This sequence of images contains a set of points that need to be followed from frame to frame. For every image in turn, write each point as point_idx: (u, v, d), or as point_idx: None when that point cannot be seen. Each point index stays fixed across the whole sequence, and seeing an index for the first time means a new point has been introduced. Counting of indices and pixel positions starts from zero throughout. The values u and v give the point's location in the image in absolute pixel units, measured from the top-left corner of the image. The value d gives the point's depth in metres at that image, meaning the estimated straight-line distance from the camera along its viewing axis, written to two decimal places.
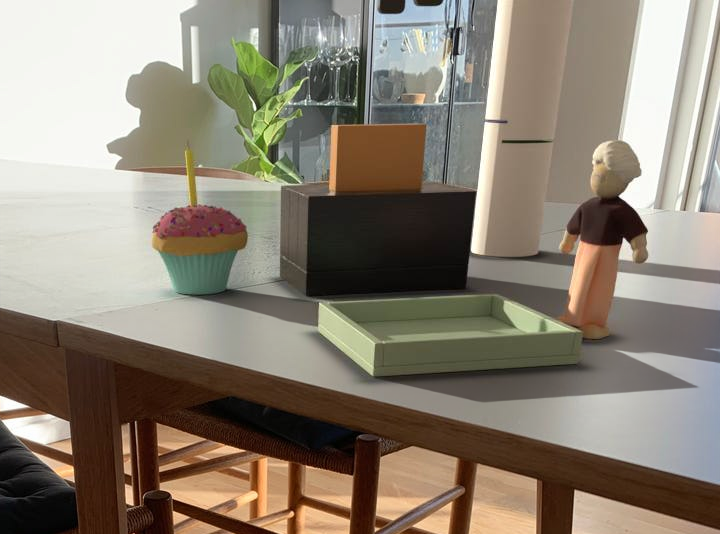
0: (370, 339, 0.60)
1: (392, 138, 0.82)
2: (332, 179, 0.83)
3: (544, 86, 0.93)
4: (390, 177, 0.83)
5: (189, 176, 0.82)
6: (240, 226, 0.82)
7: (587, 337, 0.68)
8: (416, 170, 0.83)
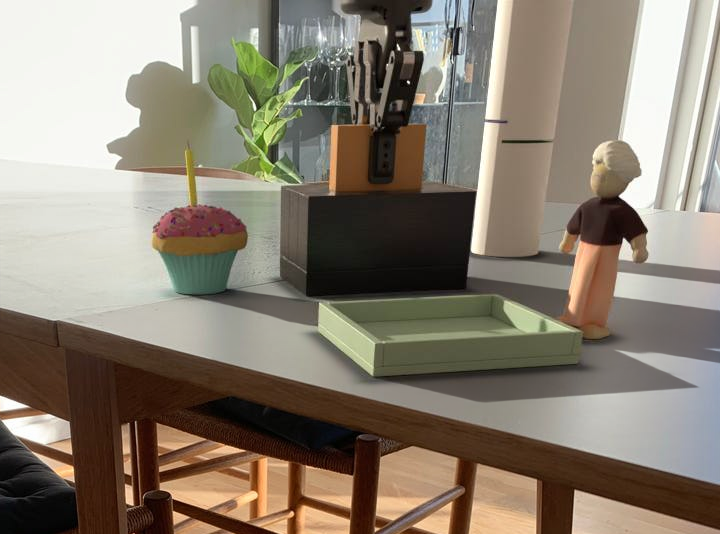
0: (370, 339, 0.60)
1: None
2: (333, 179, 0.83)
3: (544, 86, 0.93)
4: None
5: (189, 176, 0.82)
6: (240, 226, 0.82)
7: (587, 337, 0.68)
8: (416, 170, 0.83)
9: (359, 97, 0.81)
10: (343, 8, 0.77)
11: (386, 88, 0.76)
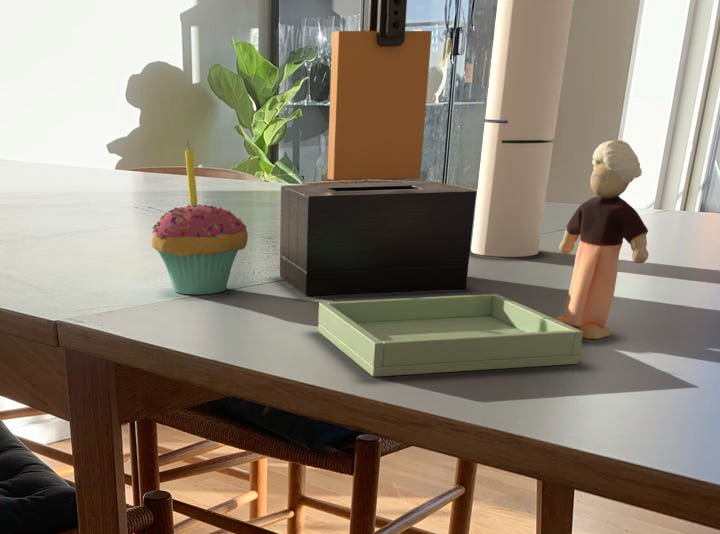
0: (370, 339, 0.60)
1: None
2: (333, 89, 0.80)
3: (544, 86, 0.93)
4: (393, 88, 0.80)
5: (189, 176, 0.82)
6: (240, 226, 0.82)
7: (587, 337, 0.68)
8: (420, 81, 0.80)
9: None
10: None
11: None
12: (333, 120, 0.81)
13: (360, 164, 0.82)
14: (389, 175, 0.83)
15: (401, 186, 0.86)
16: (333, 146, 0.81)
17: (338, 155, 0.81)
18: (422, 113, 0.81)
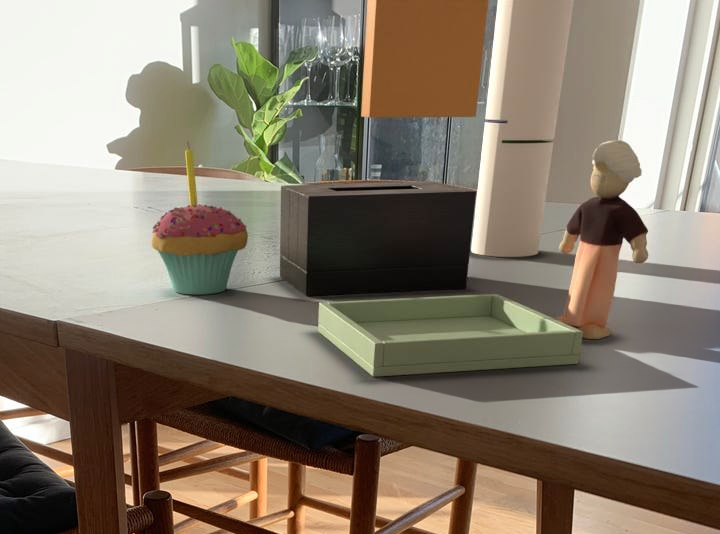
0: (370, 339, 0.60)
1: None
2: (372, 1, 0.64)
3: (544, 86, 0.93)
4: (447, 0, 0.64)
5: (189, 176, 0.82)
6: (240, 226, 0.82)
7: (587, 337, 0.68)
8: None
9: None
10: None
11: None
12: (370, 41, 0.65)
13: (403, 97, 0.66)
14: (438, 112, 0.67)
15: (401, 186, 0.86)
16: (370, 74, 0.66)
17: (376, 85, 0.66)
18: (481, 33, 0.65)
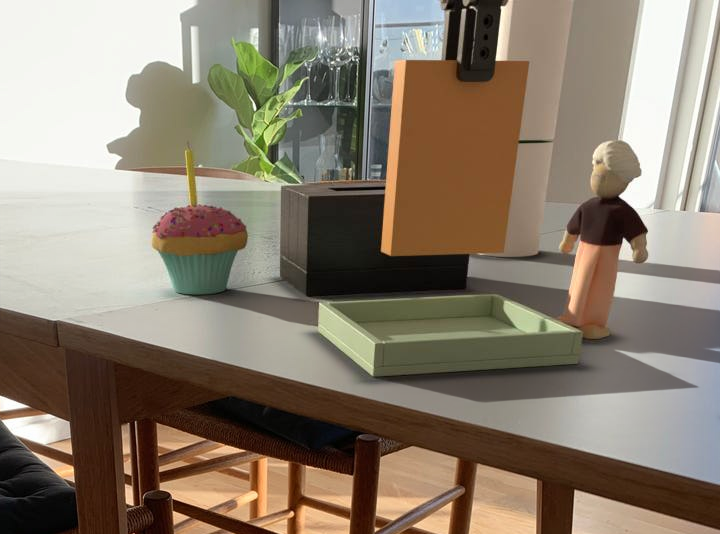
0: (370, 339, 0.60)
1: None
2: (394, 137, 0.59)
3: (544, 86, 0.93)
4: (475, 136, 0.59)
5: (189, 176, 0.82)
6: (240, 226, 0.82)
7: (587, 337, 0.68)
8: (511, 127, 0.59)
9: None
10: None
11: None
12: (392, 177, 0.60)
13: (426, 235, 0.62)
14: (464, 249, 0.63)
15: None
16: (391, 212, 0.61)
17: (398, 223, 0.61)
18: (511, 169, 0.61)
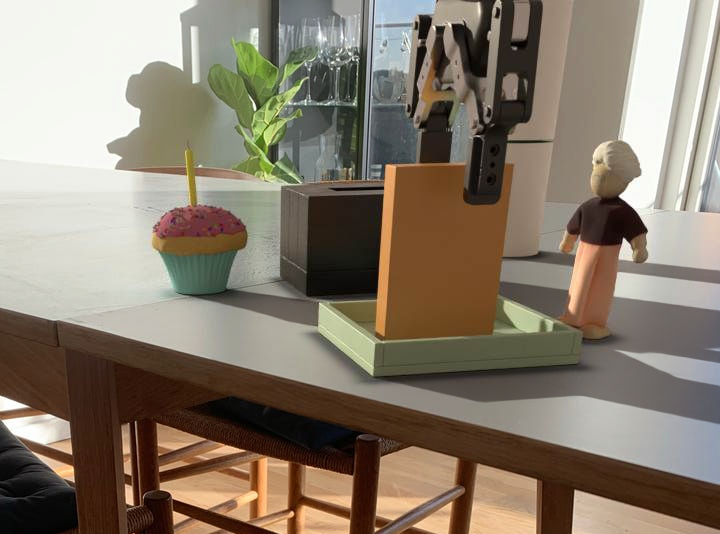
0: (370, 339, 0.60)
1: None
2: (386, 236, 0.62)
3: (544, 86, 0.93)
4: (463, 233, 0.62)
5: (189, 176, 0.82)
6: (240, 226, 0.82)
7: (587, 337, 0.68)
8: (497, 224, 0.62)
9: (423, 95, 0.61)
10: None
11: (493, 58, 0.52)
12: (384, 272, 0.63)
13: (418, 325, 0.65)
14: (454, 336, 0.66)
15: None
16: (384, 304, 0.64)
17: (391, 315, 0.64)
18: (498, 262, 0.64)
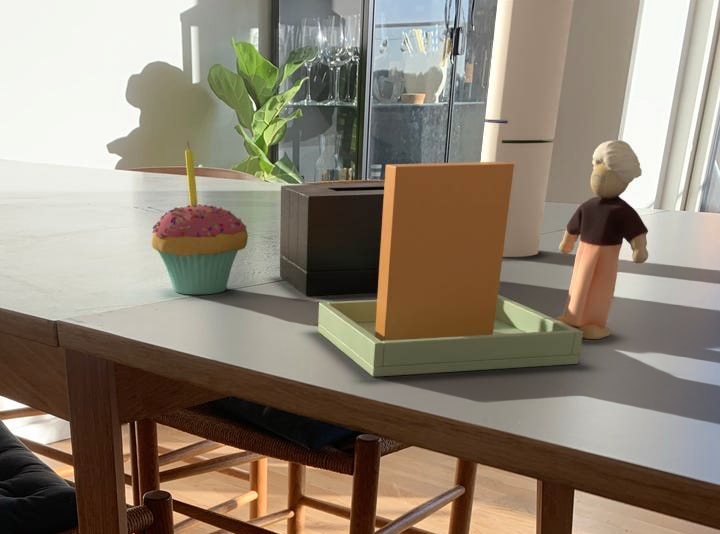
0: (370, 339, 0.60)
1: (468, 182, 0.61)
2: (386, 236, 0.62)
3: (544, 86, 0.93)
4: (463, 233, 0.62)
5: (189, 176, 0.82)
6: (240, 226, 0.82)
7: (587, 337, 0.68)
8: (497, 224, 0.62)
9: None
10: None
11: None
12: (384, 272, 0.63)
13: (418, 325, 0.65)
14: (454, 336, 0.66)
15: None
16: (384, 304, 0.64)
17: (391, 315, 0.64)
18: (498, 262, 0.64)
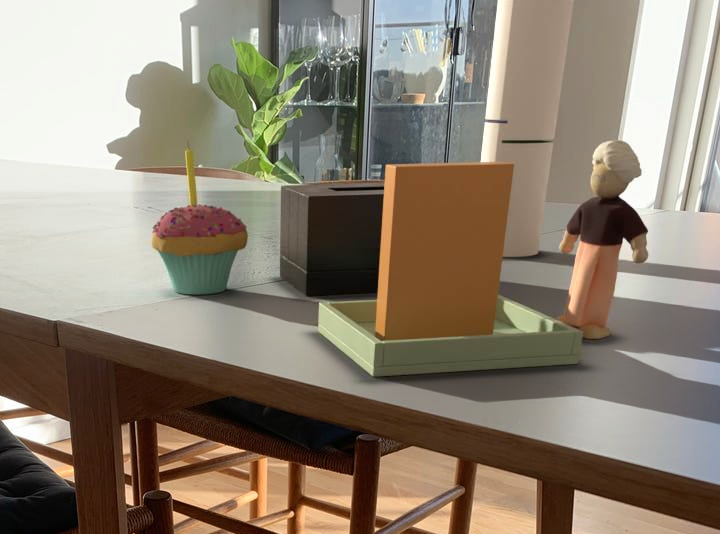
0: (370, 339, 0.60)
1: (468, 182, 0.61)
2: (386, 236, 0.62)
3: (544, 86, 0.93)
4: (463, 233, 0.62)
5: (189, 176, 0.82)
6: (240, 226, 0.82)
7: (587, 337, 0.68)
8: (497, 224, 0.62)
9: None
10: None
11: None
12: (384, 272, 0.63)
13: (418, 325, 0.65)
14: (454, 336, 0.66)
15: None
16: (384, 304, 0.64)
17: (391, 315, 0.64)
18: (498, 262, 0.64)
